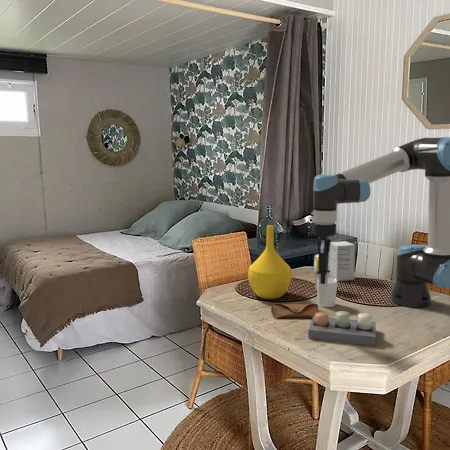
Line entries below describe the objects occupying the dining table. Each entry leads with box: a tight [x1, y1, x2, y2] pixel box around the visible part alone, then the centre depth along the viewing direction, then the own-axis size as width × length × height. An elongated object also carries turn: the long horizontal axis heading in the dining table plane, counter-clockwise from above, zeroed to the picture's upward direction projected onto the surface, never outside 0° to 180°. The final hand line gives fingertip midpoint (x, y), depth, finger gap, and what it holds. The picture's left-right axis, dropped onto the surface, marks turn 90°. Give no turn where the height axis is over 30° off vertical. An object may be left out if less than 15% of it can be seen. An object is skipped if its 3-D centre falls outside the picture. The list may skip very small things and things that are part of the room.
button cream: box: [357, 312, 373, 330], centre depth 153 cm, size 4×4×4 cm
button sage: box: [335, 310, 351, 327], centre depth 156 cm, size 4×4×4 cm
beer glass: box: [313, 253, 330, 291], centre depth 204 cm, size 7×7×15 cm
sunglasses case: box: [270, 303, 319, 320], centre depth 175 cm, size 18×7×7 cm, turn 89°
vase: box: [247, 224, 293, 300], centre depth 194 cm, size 18×18×30 cm
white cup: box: [316, 277, 338, 308], centre depth 184 cm, size 8×8×10 cm
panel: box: [307, 316, 377, 347], centre depth 156 cm, size 21×13×3 cm, turn 72°
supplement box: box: [328, 240, 356, 282], centre depth 219 cm, size 10×9×17 cm
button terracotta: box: [315, 311, 329, 327], centre depth 158 cm, size 4×4×4 cm
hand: (323, 292), depth 156 cm, fingers closed
